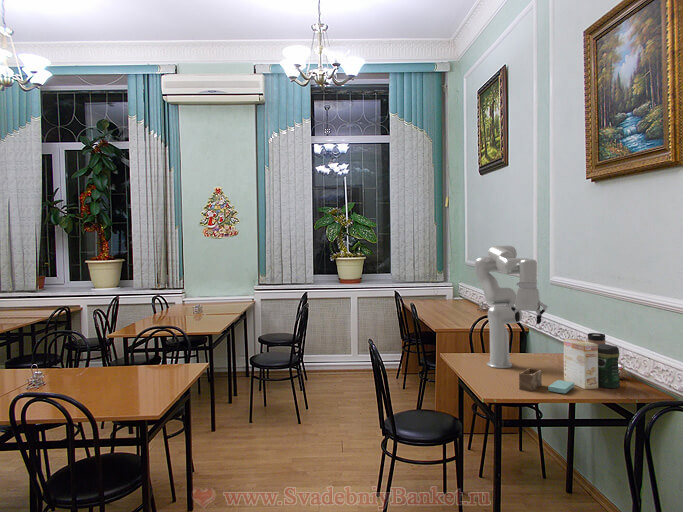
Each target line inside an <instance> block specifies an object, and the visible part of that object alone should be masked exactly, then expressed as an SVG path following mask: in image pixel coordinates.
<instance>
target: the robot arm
mask: <svg viewBox="0 0 683 512" xmlns="http://www.w3.org/2000/svg"><path fill="white" fill-rule="evenodd" d="M517 254H518V253H517V249H516V248H515V247H514V246H512V245H493V246H491V247H490V248H489V249H488V250H487V256H480V257H478V258H476V259H475V261H474V272H475V275H476V277H477V278H478V280H479V283H480V285H481V287H482V290H483V294H484V297H485V301H486V303H487V304H488V305H489V306H491V307H489V308H488V310H487V320H488V324H489V325H488V326H489V328H488V329H489V361H488V362H486V366H488V367H491V368H495V369H509V368H512V367H513V363H512V362H510V359H511V356H510V345H509V343H510V341H509V340H510V339H509V338H510V337H509V336H510V335H509V331H508V329H507V327H506V326H505V325H506V324H507V325H509V324H517V323H520V322H522V320H523V312H522V311H526V312H527V311H528V312H535V313H536V314H537V315H536V324H537V325H539V324H541V322H542V315H543V314H544V313H546V311H547V309H548V307H549V306H548V305H546V304H545V303H543V302H541V298H540V297H541V296H540V291H539V289H538V287H537V286H538V282H537V280H538V278H537V277H538V274H537V273H538V266H537V265H538V261H537V260H535V259H532V258H528V257H521V258H520V257H517ZM490 272H492V273H493V272H499V273H503V274H505V275H517V274H518V275H519V282H516V286H518V288H517V290H516V291H515V290H514V289H513V288H511V287H501V286H499V283H498V279H497V278H496V277H495V276H494V275H493V274H491V273H490ZM541 307H542V309H541Z"/></svg>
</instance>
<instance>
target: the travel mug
mask: <svg viewBox="0 0 683 512" xmlns="http://www.w3.org/2000/svg"><path fill="white" fill-rule="evenodd" d="M587 342H590V343H594V344H606V334H604V333H599V332H589V333H587Z"/></svg>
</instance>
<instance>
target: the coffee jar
mask: <svg viewBox="0 0 683 512" xmlns="http://www.w3.org/2000/svg"><path fill="white" fill-rule="evenodd" d="M619 357H620V349H619V346H616V345H612V344H606V343H605V344H598V387H602V388H606V389H618V388H619V387H620V386H621V383H620V382H621V381H620V372H619Z"/></svg>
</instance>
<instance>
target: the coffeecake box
mask: <svg viewBox="0 0 683 512" xmlns="http://www.w3.org/2000/svg"><path fill="white" fill-rule="evenodd" d="M563 381H568V382H574V386H576V387H579V388H581V389H584V390H591V389H592V390H593V389H599V385H598V344H594V343H590V342H588V340H587V341H586V340H582V339H579V338H567V339H566V338H565V339H563Z"/></svg>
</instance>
